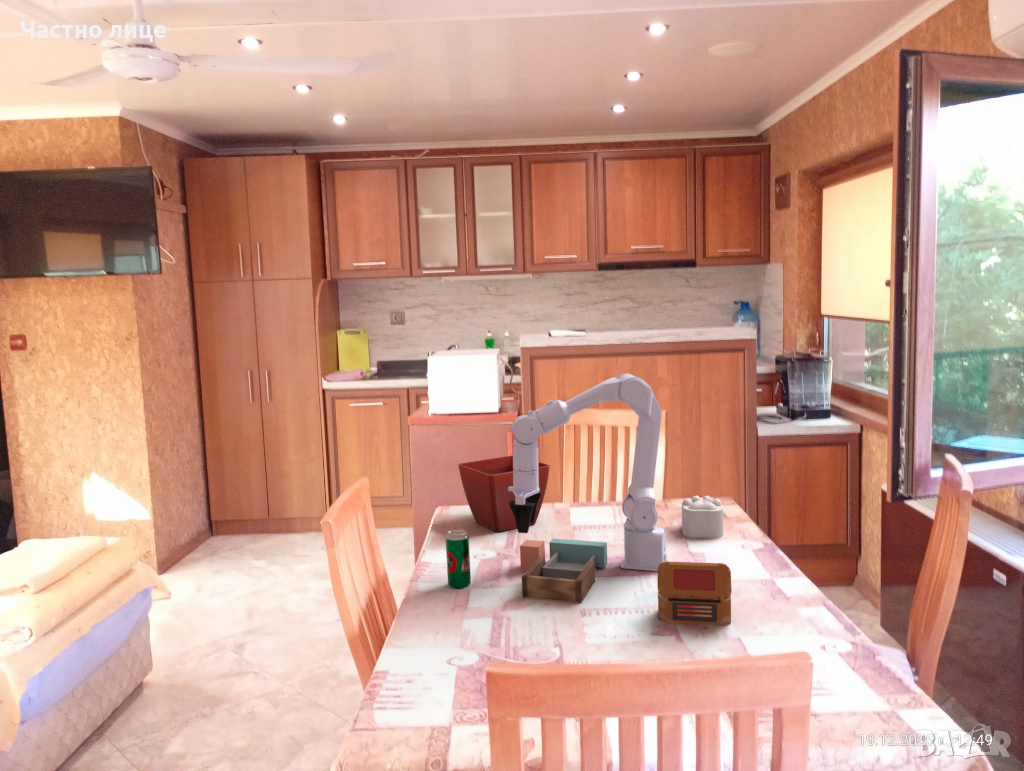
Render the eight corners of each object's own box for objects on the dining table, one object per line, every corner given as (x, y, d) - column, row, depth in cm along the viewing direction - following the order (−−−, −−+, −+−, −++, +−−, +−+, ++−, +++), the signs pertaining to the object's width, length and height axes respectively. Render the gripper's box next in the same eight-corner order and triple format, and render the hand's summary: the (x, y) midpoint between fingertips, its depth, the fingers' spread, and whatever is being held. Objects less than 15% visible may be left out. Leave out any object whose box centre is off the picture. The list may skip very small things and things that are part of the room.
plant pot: (517, 509, 226) (514, 454, 224) (553, 525, 210) (551, 464, 208) (459, 521, 216) (456, 463, 215) (492, 538, 200) (490, 475, 198)
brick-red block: (545, 565, 178) (544, 541, 178) (539, 572, 174) (538, 547, 173) (527, 564, 180) (526, 539, 179) (520, 571, 176) (519, 545, 175)
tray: (607, 563, 178) (606, 542, 177) (592, 585, 164) (592, 563, 164) (553, 558, 182) (553, 538, 182) (535, 580, 169) (534, 558, 168)
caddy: (595, 581, 167) (594, 561, 167) (581, 603, 156) (580, 581, 155) (540, 576, 172) (539, 557, 171) (522, 597, 160) (521, 576, 160)
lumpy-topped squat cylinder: (682, 538, 195) (682, 504, 194) (681, 523, 207) (680, 491, 206) (724, 538, 193) (724, 505, 192) (720, 523, 205) (720, 492, 204)
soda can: (467, 590, 165) (465, 536, 164) (445, 589, 166) (442, 535, 165) (473, 581, 170) (471, 529, 169) (451, 580, 171) (449, 528, 170)
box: (761, 593, 158) (761, 538, 157) (780, 657, 131) (780, 591, 129) (625, 588, 164) (624, 535, 162) (615, 647, 137) (614, 584, 135)
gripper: (514, 461, 180) (515, 517, 182) (501, 475, 166) (502, 536, 168) (544, 462, 179) (544, 519, 180) (533, 476, 165) (533, 537, 166)
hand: (526, 527), depth 174 cm, fingers open, 7 cm apart
